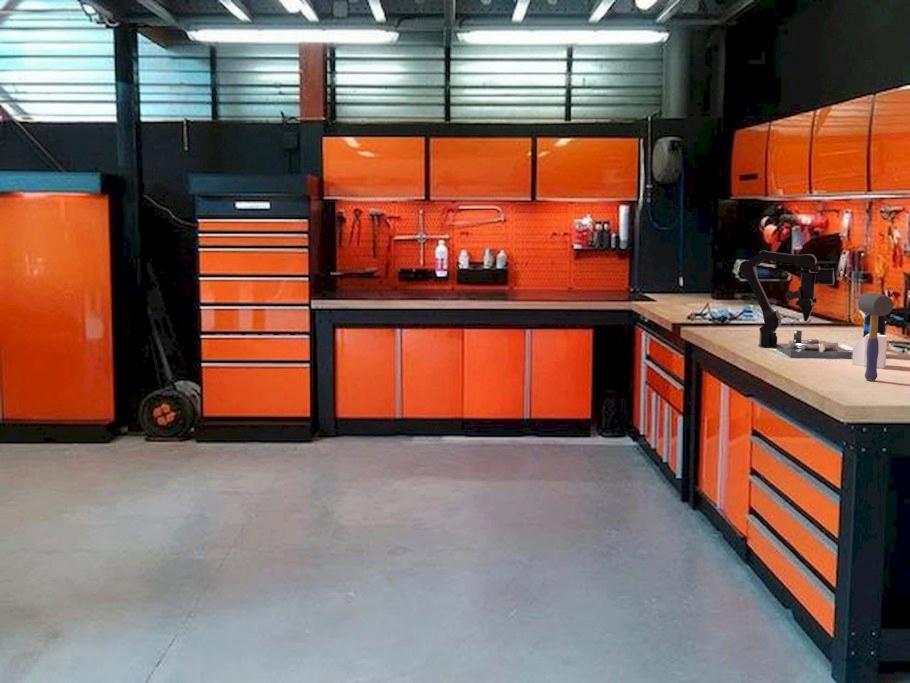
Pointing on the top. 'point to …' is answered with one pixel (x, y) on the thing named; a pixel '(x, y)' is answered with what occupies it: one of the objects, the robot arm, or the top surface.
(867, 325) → the aerosol can
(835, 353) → the index base
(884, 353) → the corner bracket
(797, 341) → the sprocket
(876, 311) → the rubber mallet
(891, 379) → the top surface
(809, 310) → the robot arm
